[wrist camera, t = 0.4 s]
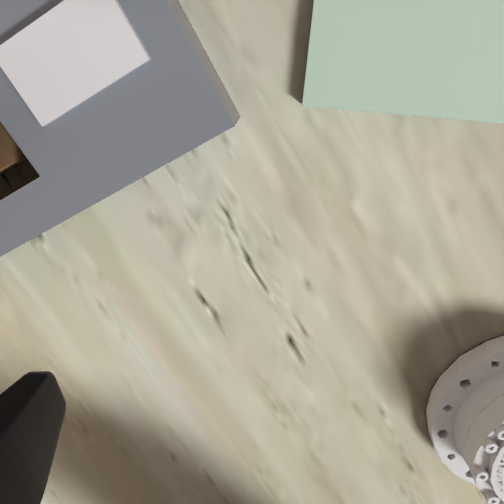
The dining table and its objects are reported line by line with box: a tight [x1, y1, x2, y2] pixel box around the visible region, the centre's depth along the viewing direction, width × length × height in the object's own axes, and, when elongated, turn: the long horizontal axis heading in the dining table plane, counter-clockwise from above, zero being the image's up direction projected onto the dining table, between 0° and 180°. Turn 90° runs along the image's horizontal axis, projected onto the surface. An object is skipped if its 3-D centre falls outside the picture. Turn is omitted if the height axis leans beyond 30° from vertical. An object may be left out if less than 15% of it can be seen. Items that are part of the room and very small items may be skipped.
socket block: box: [0, 0, 240, 256], centre depth 19 cm, size 10×16×3 cm, turn 119°
